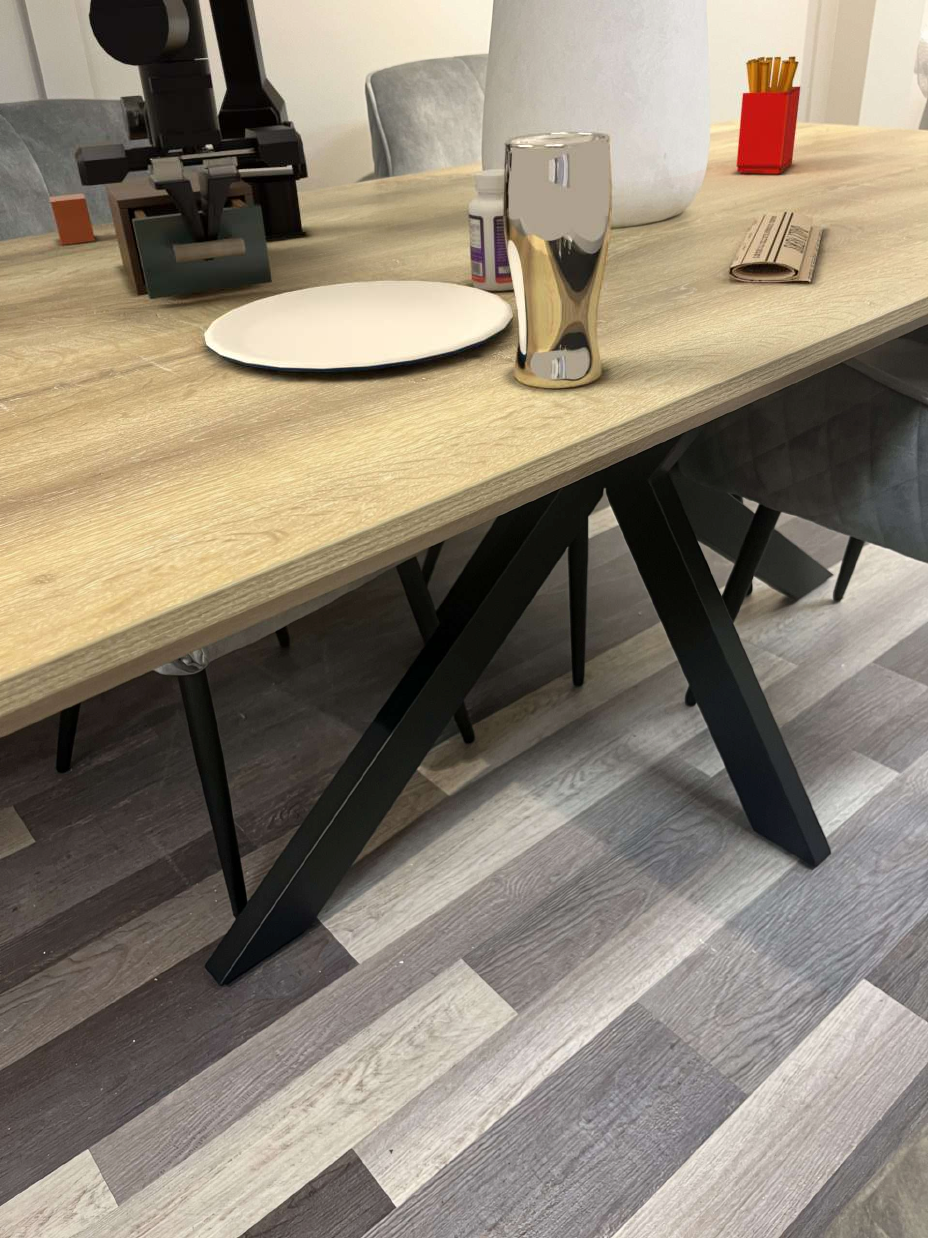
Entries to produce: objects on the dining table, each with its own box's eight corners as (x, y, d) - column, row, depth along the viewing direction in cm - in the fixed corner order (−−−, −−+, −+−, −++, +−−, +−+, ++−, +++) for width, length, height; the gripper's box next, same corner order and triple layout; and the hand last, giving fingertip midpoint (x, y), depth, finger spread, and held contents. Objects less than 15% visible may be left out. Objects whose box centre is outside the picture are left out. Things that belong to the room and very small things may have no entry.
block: (93, 235, 125) (83, 193, 122) (95, 241, 122) (85, 197, 119) (60, 239, 124) (49, 196, 121) (61, 245, 121) (50, 201, 118)
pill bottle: (536, 278, 93) (535, 166, 88) (520, 293, 89) (518, 175, 84) (482, 277, 95) (477, 166, 90) (463, 291, 91) (458, 176, 86)
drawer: (282, 291, 91) (270, 212, 87) (155, 309, 87) (138, 228, 84) (244, 256, 105) (233, 187, 101) (134, 270, 101) (119, 199, 98)
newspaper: (754, 228, 108) (755, 211, 107) (822, 229, 105) (825, 211, 104) (727, 281, 89) (729, 260, 88) (810, 283, 87) (813, 261, 86)
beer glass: (502, 363, 72) (495, 135, 64) (597, 355, 72) (601, 128, 65) (514, 394, 66) (508, 148, 58) (617, 386, 66) (624, 140, 59)
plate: (181, 320, 87) (178, 306, 86) (444, 279, 95) (443, 266, 94) (243, 405, 67) (240, 387, 67) (568, 344, 75) (568, 328, 74)
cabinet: (265, 276, 100) (251, 185, 96) (137, 294, 96) (116, 200, 92) (238, 251, 112) (224, 168, 107) (123, 266, 108) (104, 181, 104)
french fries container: (731, 174, 140) (741, 60, 132) (745, 164, 147) (754, 56, 139) (782, 174, 137) (795, 58, 130) (794, 164, 144) (806, 54, 137)
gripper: (265, 52, 90) (289, 233, 98) (50, 67, 85) (95, 257, 93) (293, 53, 81) (317, 252, 89) (55, 69, 76) (104, 279, 84)
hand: (208, 259), depth 89 cm, fingers closed, pressing on drawer
